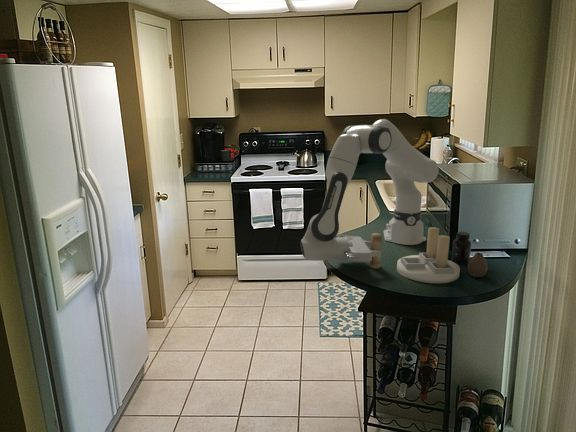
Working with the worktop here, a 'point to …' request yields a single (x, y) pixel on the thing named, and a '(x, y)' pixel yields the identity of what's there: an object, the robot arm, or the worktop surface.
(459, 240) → the supplement bottle
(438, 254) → the stool seat
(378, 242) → the stool leg
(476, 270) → the vase
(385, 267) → the worktop surface
